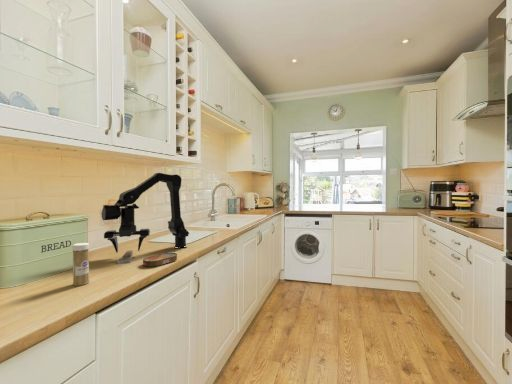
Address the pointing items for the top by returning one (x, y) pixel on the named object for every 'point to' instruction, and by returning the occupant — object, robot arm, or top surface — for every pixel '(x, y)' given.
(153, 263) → the tin
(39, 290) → the top surface
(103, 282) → the top surface
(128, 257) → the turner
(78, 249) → the sprinkles bottle
